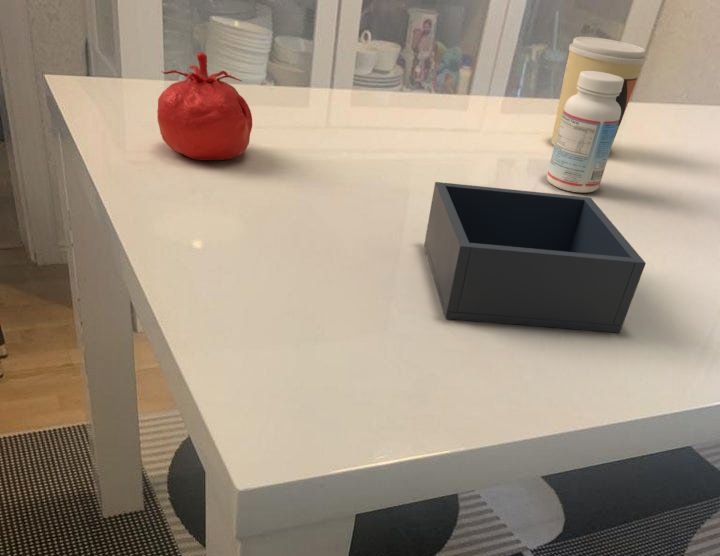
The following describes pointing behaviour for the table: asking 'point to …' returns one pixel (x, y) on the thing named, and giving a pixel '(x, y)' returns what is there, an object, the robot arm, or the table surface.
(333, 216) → the table surface
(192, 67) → the red tomato
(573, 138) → the pill bottle
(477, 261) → the dark grey open box
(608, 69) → the coffee cup
